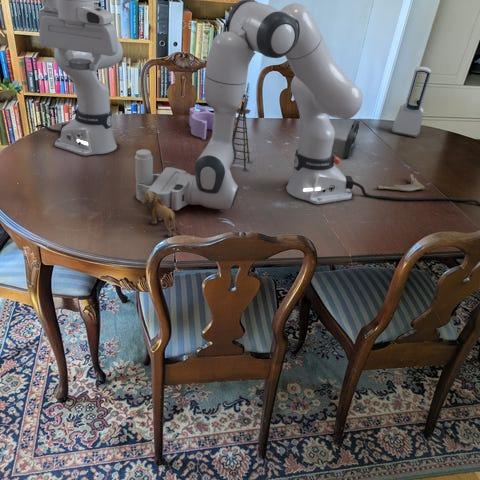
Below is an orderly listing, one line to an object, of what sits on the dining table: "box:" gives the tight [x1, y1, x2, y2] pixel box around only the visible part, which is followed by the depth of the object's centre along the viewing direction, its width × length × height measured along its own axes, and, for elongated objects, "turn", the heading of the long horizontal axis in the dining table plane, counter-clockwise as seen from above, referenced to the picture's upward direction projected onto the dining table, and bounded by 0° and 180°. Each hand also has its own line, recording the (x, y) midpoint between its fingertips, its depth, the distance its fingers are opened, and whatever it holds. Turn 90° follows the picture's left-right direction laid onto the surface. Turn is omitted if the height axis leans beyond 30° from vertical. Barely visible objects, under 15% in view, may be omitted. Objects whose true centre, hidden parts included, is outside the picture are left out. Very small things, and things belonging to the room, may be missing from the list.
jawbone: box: [376, 173, 426, 193], centre depth 169 cm, size 9×20×2 cm, turn 126°
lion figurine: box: [140, 191, 182, 237], centre depth 130 cm, size 15×5×9 cm, turn 50°
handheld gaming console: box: [342, 119, 361, 159], centre depth 194 cm, size 23×3×10 cm, turn 161°
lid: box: [69, 58, 92, 70], centre depth 124 cm, size 6×6×2 cm
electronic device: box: [391, 66, 432, 138], centre depth 214 cm, size 12×8×30 cm, turn 71°
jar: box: [134, 149, 154, 202], centre depth 142 cm, size 5×5×15 cm
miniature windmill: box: [233, 82, 252, 171], centre depth 166 cm, size 9×8×30 cm
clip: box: [188, 106, 214, 140], centre depth 199 cm, size 20×12×7 cm, turn 23°
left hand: (81, 68), depth 124 cm, fingers closed on lid, 5 cm apart
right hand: (141, 181), depth 143 cm, fingers closed on jar, 5 cm apart
